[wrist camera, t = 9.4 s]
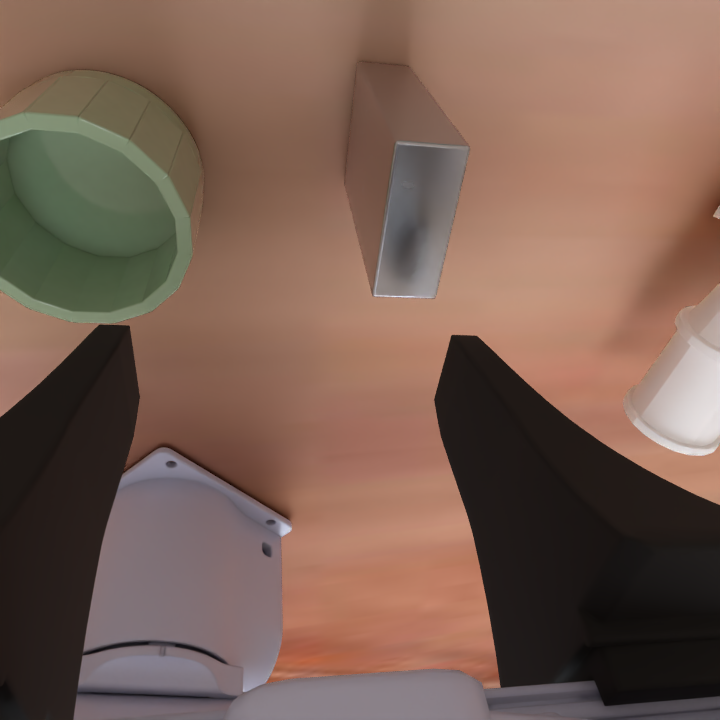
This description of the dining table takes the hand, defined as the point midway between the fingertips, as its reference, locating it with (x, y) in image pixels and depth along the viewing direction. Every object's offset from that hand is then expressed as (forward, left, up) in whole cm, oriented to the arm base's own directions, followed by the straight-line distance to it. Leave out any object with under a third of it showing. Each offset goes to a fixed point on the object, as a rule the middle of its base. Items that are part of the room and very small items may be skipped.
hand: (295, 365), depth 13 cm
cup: (+4, +4, -10) cm, 12 cm away
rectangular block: (0, -4, -10) cm, 11 cm away
